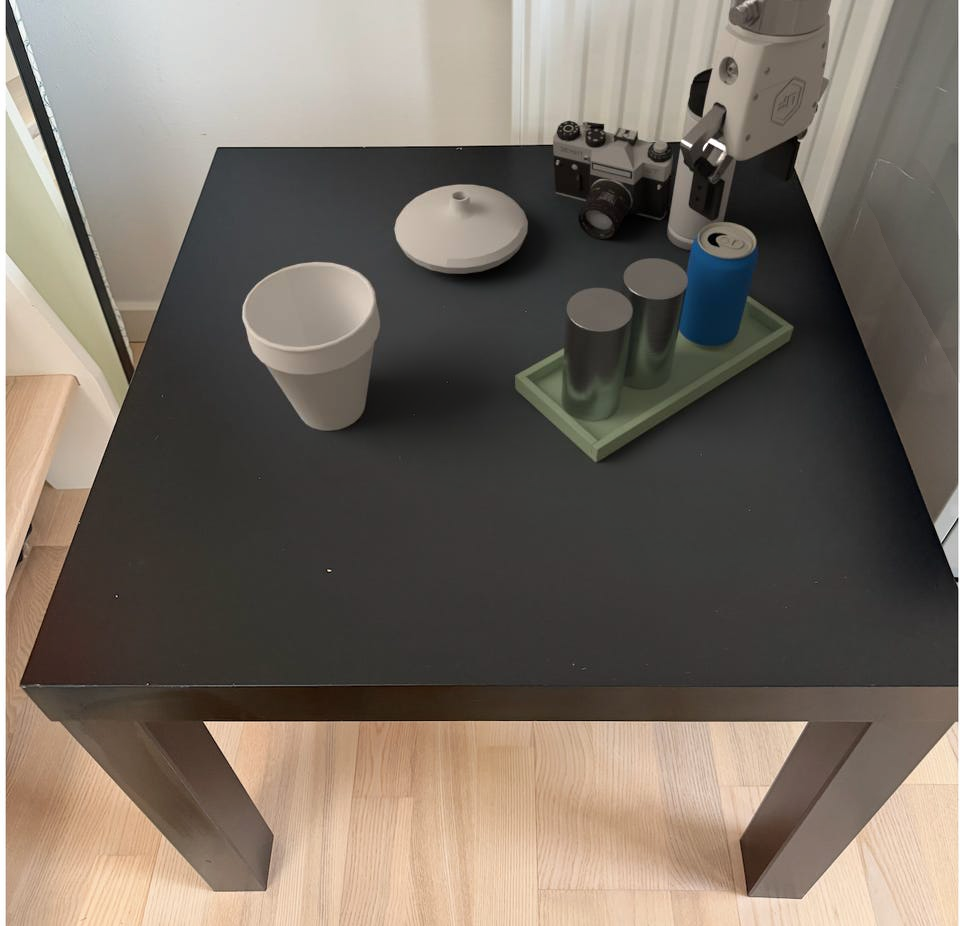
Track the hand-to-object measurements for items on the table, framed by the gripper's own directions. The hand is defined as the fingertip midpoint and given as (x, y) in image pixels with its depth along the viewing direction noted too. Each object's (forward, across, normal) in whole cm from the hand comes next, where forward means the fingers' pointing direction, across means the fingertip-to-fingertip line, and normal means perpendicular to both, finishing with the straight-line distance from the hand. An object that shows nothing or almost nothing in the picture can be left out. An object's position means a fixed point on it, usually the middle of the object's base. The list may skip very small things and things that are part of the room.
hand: (739, 193), depth 84 cm
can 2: (+17, -9, +1) cm, 20 cm away
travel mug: (+18, +12, +14) cm, 25 cm away
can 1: (+17, -16, +1) cm, 24 cm away
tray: (+18, -7, +1) cm, 19 cm away
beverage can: (+18, 0, +1) cm, 18 cm away
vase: (+18, -11, +30) cm, 36 cm away
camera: (+18, +6, +24) cm, 30 cm away
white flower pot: (+18, -37, +17) cm, 45 cm away
